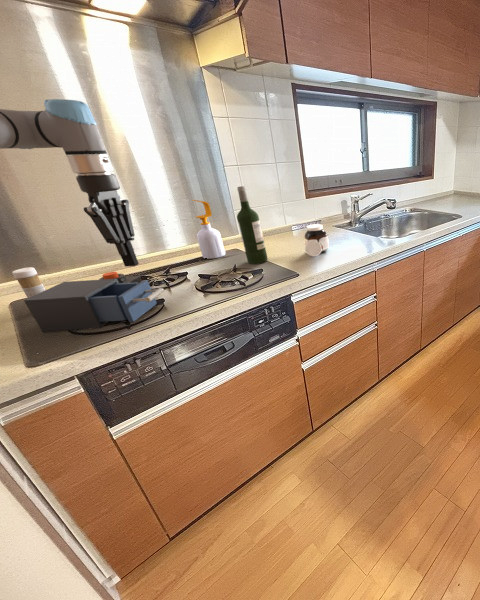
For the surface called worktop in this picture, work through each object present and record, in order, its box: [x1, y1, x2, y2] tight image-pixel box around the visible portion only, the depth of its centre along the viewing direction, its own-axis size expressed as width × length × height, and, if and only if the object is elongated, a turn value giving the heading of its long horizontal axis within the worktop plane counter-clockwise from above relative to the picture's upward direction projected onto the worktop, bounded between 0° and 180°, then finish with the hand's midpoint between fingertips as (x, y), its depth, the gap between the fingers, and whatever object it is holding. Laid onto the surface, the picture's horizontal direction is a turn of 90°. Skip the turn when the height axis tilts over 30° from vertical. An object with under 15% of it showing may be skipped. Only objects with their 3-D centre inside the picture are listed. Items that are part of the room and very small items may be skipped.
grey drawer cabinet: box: [23, 279, 119, 333], centre depth 91 cm, size 15×13×10 cm
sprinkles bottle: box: [11, 266, 47, 299], centre depth 96 cm, size 5×5×14 cm
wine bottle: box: [236, 185, 268, 265], centre depth 130 cm, size 8×8×30 cm
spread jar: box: [303, 223, 330, 257], centre depth 143 cm, size 12×11×12 cm
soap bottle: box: [192, 199, 226, 260], centre depth 139 cm, size 9×9×25 cm
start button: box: [101, 271, 119, 279], centre depth 112 cm, size 4×4×2 cm
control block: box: [98, 273, 143, 284], centre depth 113 cm, size 12×10×4 cm
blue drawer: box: [88, 279, 165, 323], centre depth 92 cm, size 18×11×8 cm, turn 96°
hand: (132, 265), depth 89 cm, fingers closed
